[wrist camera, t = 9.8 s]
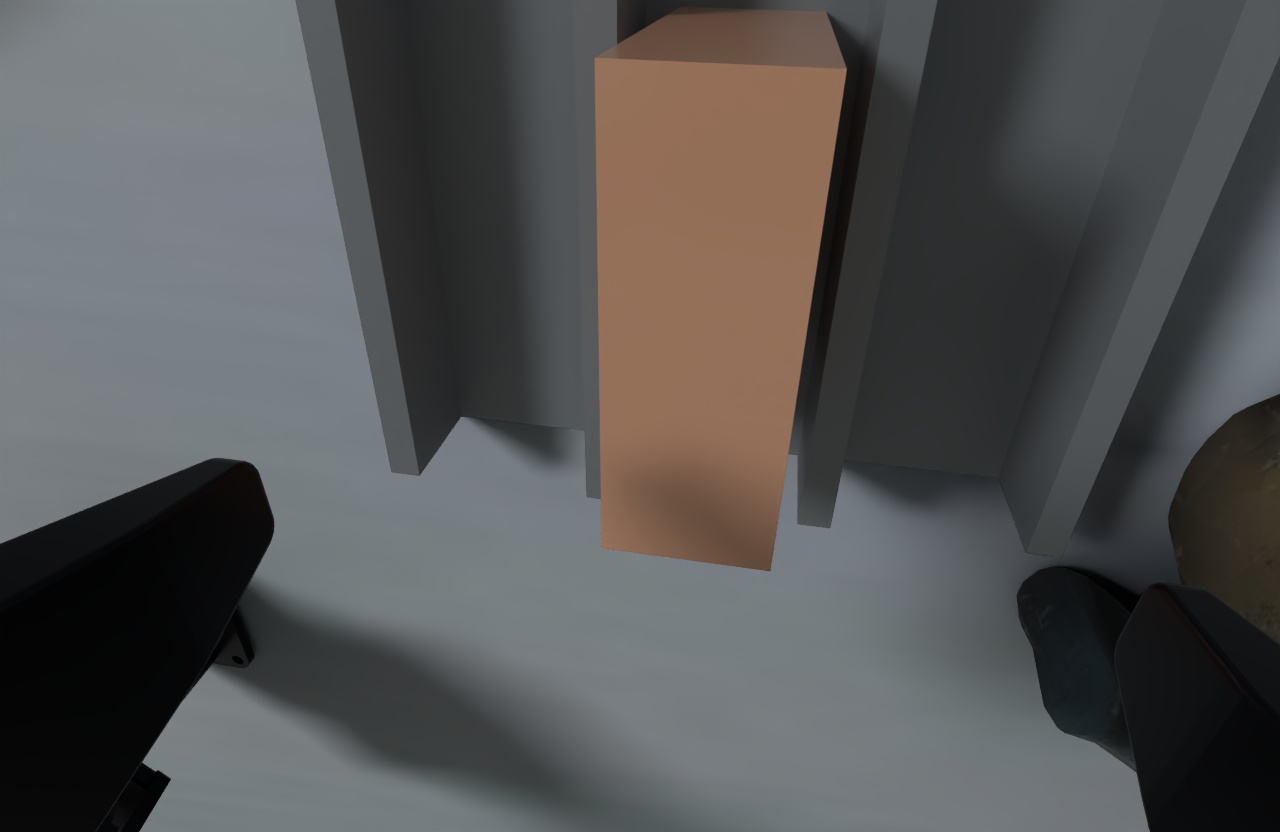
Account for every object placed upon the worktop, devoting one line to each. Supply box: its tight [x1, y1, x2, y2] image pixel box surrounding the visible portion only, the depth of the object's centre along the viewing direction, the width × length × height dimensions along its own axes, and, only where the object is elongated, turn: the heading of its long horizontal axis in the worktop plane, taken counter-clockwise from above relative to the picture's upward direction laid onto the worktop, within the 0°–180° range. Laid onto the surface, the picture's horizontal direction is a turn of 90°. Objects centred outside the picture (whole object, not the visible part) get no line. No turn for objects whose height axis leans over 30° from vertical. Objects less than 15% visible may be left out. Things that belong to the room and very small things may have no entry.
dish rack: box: [296, 0, 1280, 558], centre depth 17 cm, size 14×17×4 cm
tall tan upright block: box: [595, 7, 847, 571], centre depth 14 cm, size 8×3×8 cm, turn 179°
